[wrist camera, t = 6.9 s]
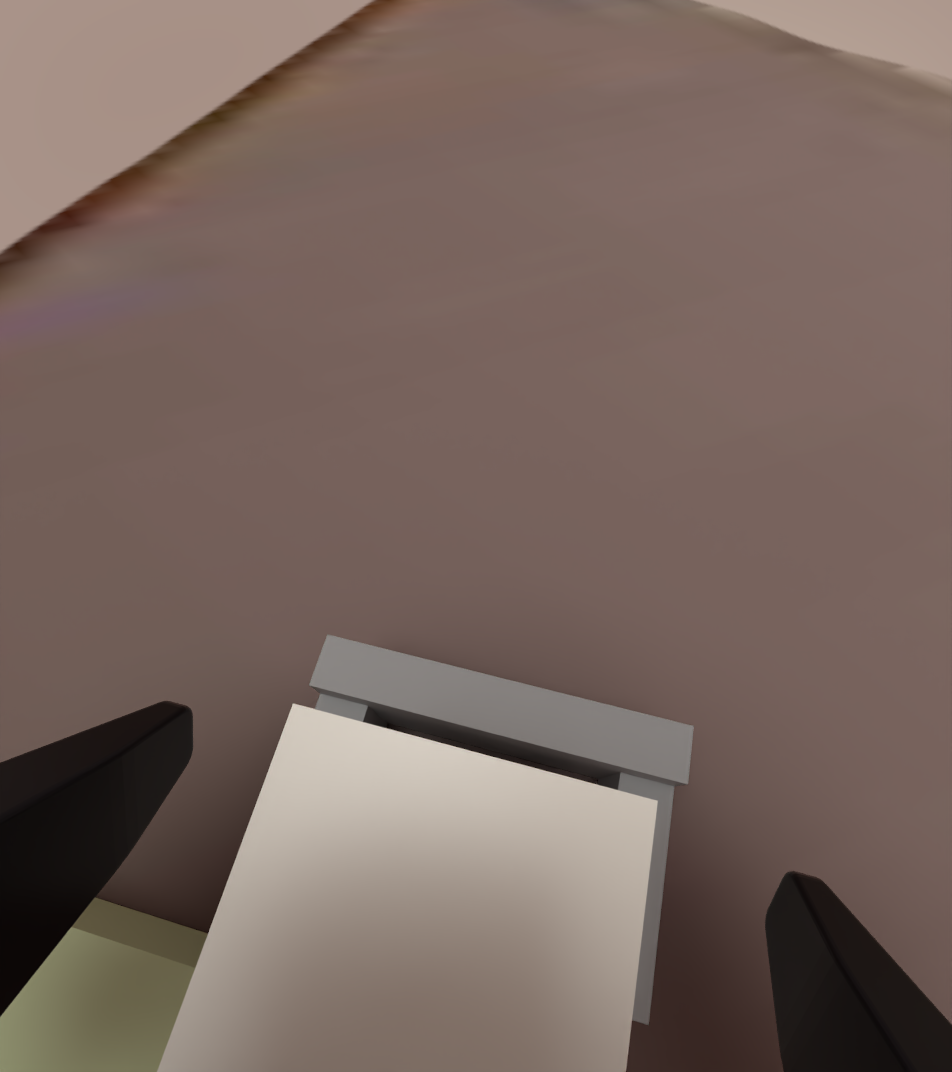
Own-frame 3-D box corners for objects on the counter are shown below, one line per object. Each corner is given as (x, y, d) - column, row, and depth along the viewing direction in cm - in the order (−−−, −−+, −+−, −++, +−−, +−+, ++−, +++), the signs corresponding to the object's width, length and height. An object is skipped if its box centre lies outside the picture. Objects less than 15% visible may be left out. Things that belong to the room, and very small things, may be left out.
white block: (530, 984, 14) (601, 1280, 5) (352, 929, 15) (141, 1111, 6) (561, 807, 16) (657, 800, 7) (400, 763, 17) (293, 703, 7)
